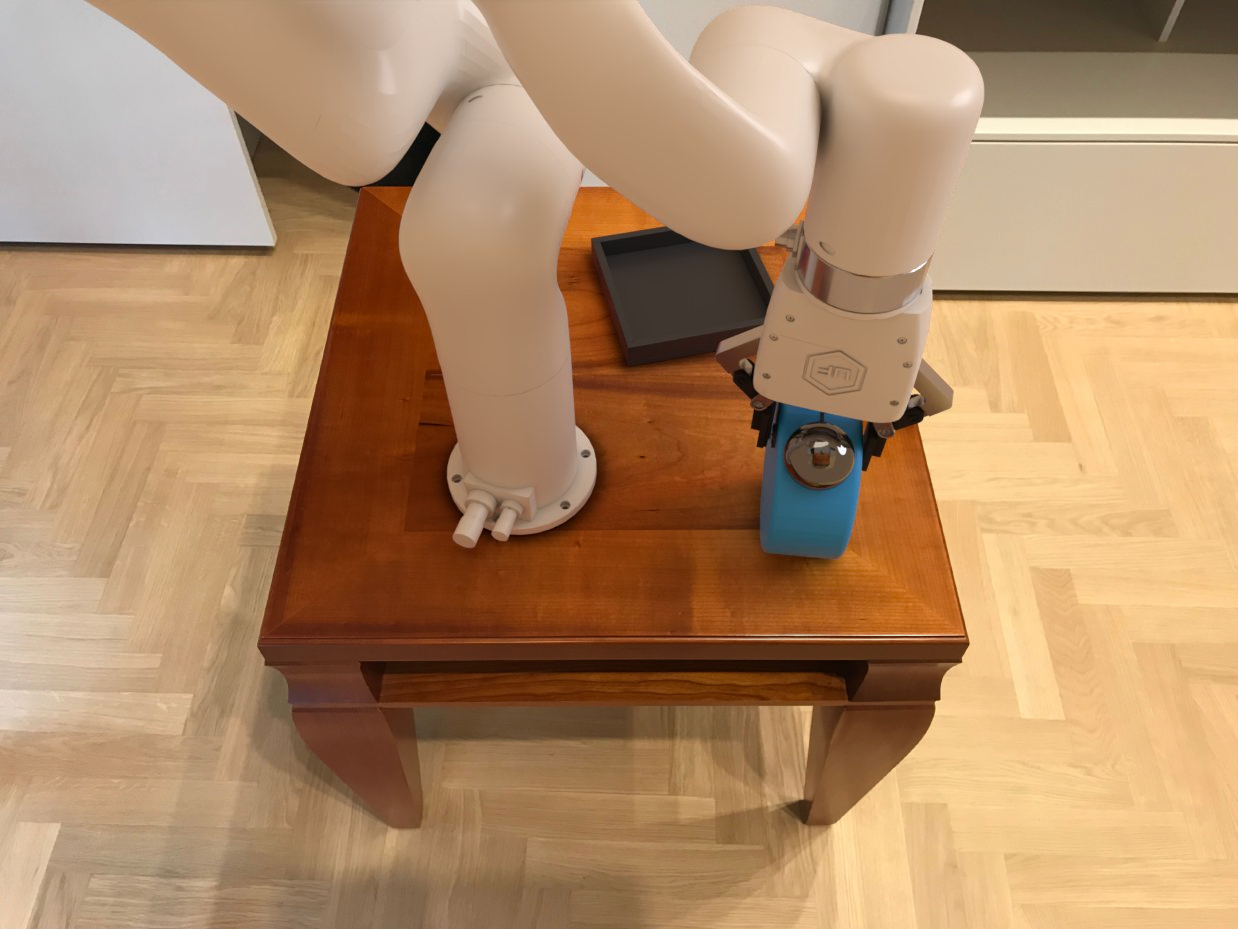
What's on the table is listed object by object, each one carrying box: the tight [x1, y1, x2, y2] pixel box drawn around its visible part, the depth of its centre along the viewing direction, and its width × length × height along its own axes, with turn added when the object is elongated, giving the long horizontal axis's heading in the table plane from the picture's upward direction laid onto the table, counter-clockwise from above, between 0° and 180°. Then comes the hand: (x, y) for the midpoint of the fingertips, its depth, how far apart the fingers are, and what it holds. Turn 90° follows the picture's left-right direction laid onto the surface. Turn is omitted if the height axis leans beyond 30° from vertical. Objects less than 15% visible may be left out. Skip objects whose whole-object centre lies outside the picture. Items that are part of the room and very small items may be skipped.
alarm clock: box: [759, 402, 864, 560], centre depth 72 cm, size 13×6×15 cm, turn 173°
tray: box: [590, 225, 775, 368], centre depth 92 cm, size 16×16×3 cm
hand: (814, 443), depth 70 cm, fingers closed on alarm clock, 6 cm apart
